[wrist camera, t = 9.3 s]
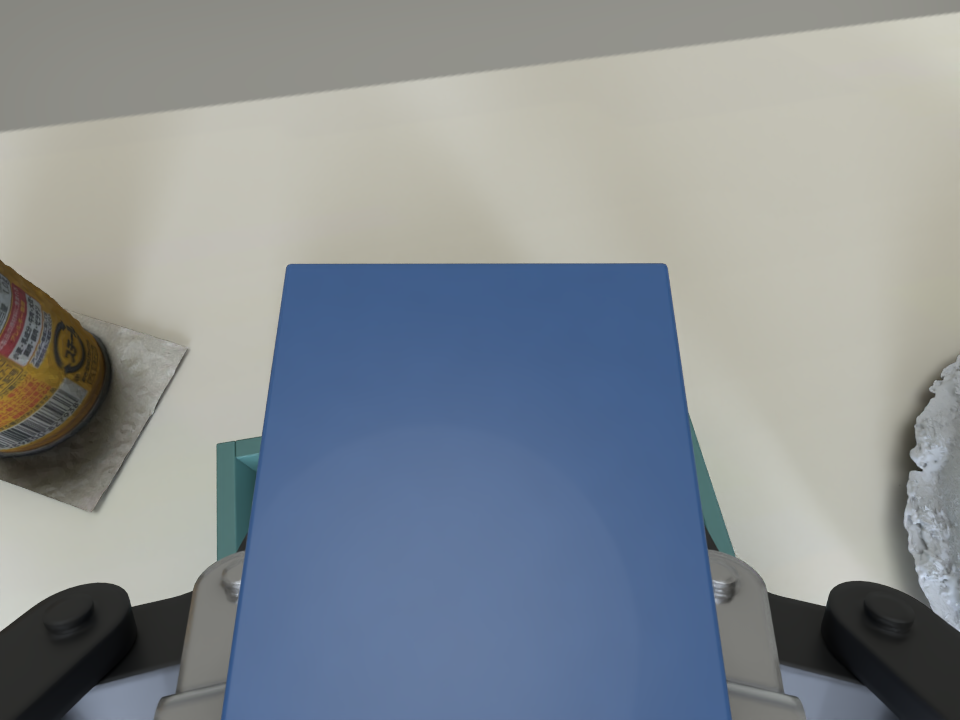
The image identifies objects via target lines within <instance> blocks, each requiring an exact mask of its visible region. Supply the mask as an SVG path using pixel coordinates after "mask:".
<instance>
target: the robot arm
mask: <svg viewBox="0 0 960 720" xmlns="http://www.w3.org/2000/svg"><path fill="white" fill-rule="evenodd" d="M704 527H705V534H706V541H707V548H708V555H709V562H710V569H711V576H712V583H713V590H714V597H715V604H716V611H717V618H718V625H719V632H720V639H721V646H722V653H723V660H724V667H725V674H726V681H727V688H728V695H729V702H730V709H731V716H732V720H960V632H959V631H958V630H957V629H955V628H954V627H953V626H951V625H950V624H949V623H947V622H946V621H945V620H944V619H942V618H941V617H940V616H938V615H937V614H936V613H934V612H933V611H932V610H930V609H929V608H928V607H926V606H925V605H924V604H922V603H921V602H919V601H918V600H916V599H914V598H913V597H911V596H909V595H907V594H905V593H903V592H901V591H899V590H896V589H894V588H891V587H888V586H885V585H881V584H878V583H873V582H866V581H850V582H844V583H841V584H839V585H837V586H835V587H834V588H833V589H832V590H831V592H830V594H829V597H828V601H827V605H826V606H821V605H817V604H812V603H808V602H803V601H799V600H795V599H790V598H786V597H782V596H778V595H774V594H772V593H769V592H767V589H766V585H765V583H764V581H763V579H762V578H761V577H760V575H759V574H758V573H757V572H756V571H755V570H754V569H753V568H752V567H750V566H749V565H748V564H746V563H745V562H743V561H741V560H740V559H738V558H736V557H734V556H731V555H729V554H726V553H723V552H719V550H718V548H717V546H716V545H715V543H714V541H713V539H712V537H711V535H710V534H709V532H708V530H707V528H706V526H705V525H704ZM247 536H248V532H247V534H246V536H245V538H244V539H243V541H242V543H241V545H240V547H239V548H238V550H237V552H236V553H234V554H231V555H229V556H226V557H224V558H222V559H220V560H219V561H217V562H215V563H214V564H212V565H211V566H210V567H208V568H207V569H206V570H205V571H204V572H203V573H202V574H201V575H200V577H199V578H198V579H197V581H196V583H195V585H194V589H193V591H191V592H189V593H186V594H183V595H180V596H177V597H173V598H169V599H165V600H160V601H156V602H151V603H147V604H143V605H138V606H134V607H131V603H130V600H129V597H128V594H127V592H126V591H125V590H124V589H123V588H121V587H120V586H117V585H114V584H109V583H90V584H84V585H79V586H76V587H72V588H69V589H66V590H63V591H61V592H58V593H56V594H54V595H52V596H50V597H48V598H46V599H45V600H43V601H41V602H40V603H38V604H37V605H35V606H34V607H32V608H31V609H30V610H28V611H27V612H26V613H24V614H23V615H22V616H20V617H19V618H18V619H16V620H15V621H14V622H12V623H11V624H10V625H9V626H7V627H6V628H5V629H3V630H2V631H1V632H0V720H221V715H222V708H223V701H224V694H225V688H226V681H227V674H228V667H229V660H230V653H231V646H232V639H233V632H234V625H235V618H236V612H237V605H238V598H239V591H240V584H241V577H242V570H243V563H244V556H245V549H246V542H247Z"/></svg>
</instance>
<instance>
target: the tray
mask: <svg viewBox="0 0 960 720" xmlns="http://www.w3.org/2000/svg"><path fill="white" fill-rule="evenodd" d="M688 414H689V413H688ZM689 422H690V429H691V436H692V443H693V450H694V457H695V464H696V471H697V478H698V485H699V492H700V499H701V506H702V513H703V520H704V525H705V526H706V528H707V530H708V532H709V534H710V535H711V537H712V539H713V541H714V543H715V545H716V546H717V548H718V550H719V552H723V553H726V554H729V555H731V556H734V557H736V556H735V553H734V550H733V547H732V544H731V541H730V538H729V535H728V532H727V529H726V526H725V523H724V520H723V517H722V514H721V511H720V508H719V505H718V501H717V498H716V495H715V492H714V489H713V486H712V483H711V480H710V477H709V474H708V471H707V468H706V465H705V462H704V459H703V456H702V453H701V450H700V447H699V443H698V440H697V437H696V434H695V431H694V428H693V425H692V422H691V419H690V416H689ZM261 439H262V436H261V437H255V438H249V439H243V440H237V441H236V442H235V441H231V442H225V443H219V444H217V561H219V560H220V559H222V558H224V557H226V556H229V555H231V554H234V553H236V552H237V550H238V548H239V547H240V545H241V543H242V541H243V539H244V538H245V536H246V534H247V532H248V529H249V522H250V515H251V508H252V501H253V494H254V487H255V480H256V473H257V466H258V460H259V453H260V446H261Z"/></svg>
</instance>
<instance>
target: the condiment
mask: <svg viewBox="0 0 960 720" xmlns="http://www.w3.org/2000/svg"><path fill="white" fill-rule="evenodd" d="M187 349H188V347H185V346H182V345H179V344H176V343H173V342H170V341H167V340H163V339H159V338H156V337H153V336H151V335H148V334H145V333H140V332H137V331H134V330H131V329H128V328H125V327H122V326H118V325H115V324H112V323H108V322H105V321H101V320H98V319H94V318H91V317H88V316H85V315H82V314H79V313H76V312H72V311H69V310H66V309H63V308H62V307H61V306H60V305H59V304H58V303H57V302H56V301H55V300H54V299H53V298H51V297H50V296H49V295H48V294H46V293H45V292H43V291H42V290H41V289H40V288H38V287H36V286H35V285H33V284H32V283H31V282H29V281H28V280H26V279H24V278H23V277H22V276H21V275H19V274H18V273H17V272H16V271H15V270H14V269H12V268H11V267H9V266H7V265H5V264H4V263H3V262H2V261H1V260H0V480H4V481H6V482H9V483H12V484H15V485H18V486H21V487H23V488H26V489H29V490H31V491H34V492H37V493H40V494H42V495H45V496H47V497H50V498H53V499H56V500H59V501H62V502H65V503H67V504H70V505H73V506H75V507H78V508H81V509H84V510H86V511H89V512H92V510H93V509H94V507H95V506H96V504H97V503H98V501H99V499H100V498H101V496H102V494H103V492H104V491H105V490H106V489H107V488H108V487H109V485H110V483H111V481H112V479H113V478H114V476H115V474H116V473H117V471H118V469H119V468H120V466H121V464H122V463H123V461H124V459H125V457H126V455H127V454H128V453H129V451H130V450H131V448H132V447H133V445H134V443H135V441H136V439H137V438H138V436H139V434H140V432H141V431H142V429H143V427H144V425H145V423H146V422H147V420H148V418H149V417H150V416H151V415H153V413H154V410H155V406H156V404H157V402H158V400H159V398H160V396H161V394H162V393H163V391H164V389H165V388H166V386H167V385H168V383H169V382H170V380H171V378H172V377H173V375H174V372H175V370H176V368H177V366H178V364H179V363H180V361H181V359H182V357H183V355H184V354H185V352H186V350H187Z"/></svg>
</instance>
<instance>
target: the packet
mask: <svg viewBox="0 0 960 720" xmlns="http://www.w3.org/2000/svg"><path fill="white" fill-rule="evenodd" d="M221 720H732V716H731V709H730V702H729V695H728V688H727V681H726V674H725V667H724V660H723V653H722V646H721V639H720V632H719V625H718V618H717V611H716V604H715V597H714V590H713V583H712V576H711V569H710V562H709V555H708V548H707V541H706V534H705V527H704V520H703V513H702V506H701V499H700V492H699V485H698V478H697V471H696V464H695V457H694V450H693V443H692V436H691V429H690V422H689V414H688V407H687V400H686V393H685V386H684V379H683V372H682V365H681V358H680V351H679V344H678V337H677V330H676V323H675V316H674V309H673V302H672V295H671V288H670V281H669V274H668V268H667V266H666V264H663V263H609V264H290V265H288V266H287V267H286V273H285V280H284V287H283V294H282V301H281V307H280V314H279V321H278V328H277V335H276V342H275V349H274V356H273V363H272V370H271V377H270V383H269V390H268V397H267V404H266V411H265V418H264V425H263V432H262V439H261V446H260V453H259V460H258V466H257V473H256V480H255V487H254V494H253V501H252V508H251V515H250V522H249V529H248V536H247V542H246V549H245V556H244V563H243V570H242V577H241V584H240V591H239V598H238V605H237V612H236V618H235V625H234V632H233V639H232V646H231V653H230V660H229V667H228V674H227V681H226V688H225V694H224V701H223V708H222V715H221Z"/></svg>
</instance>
